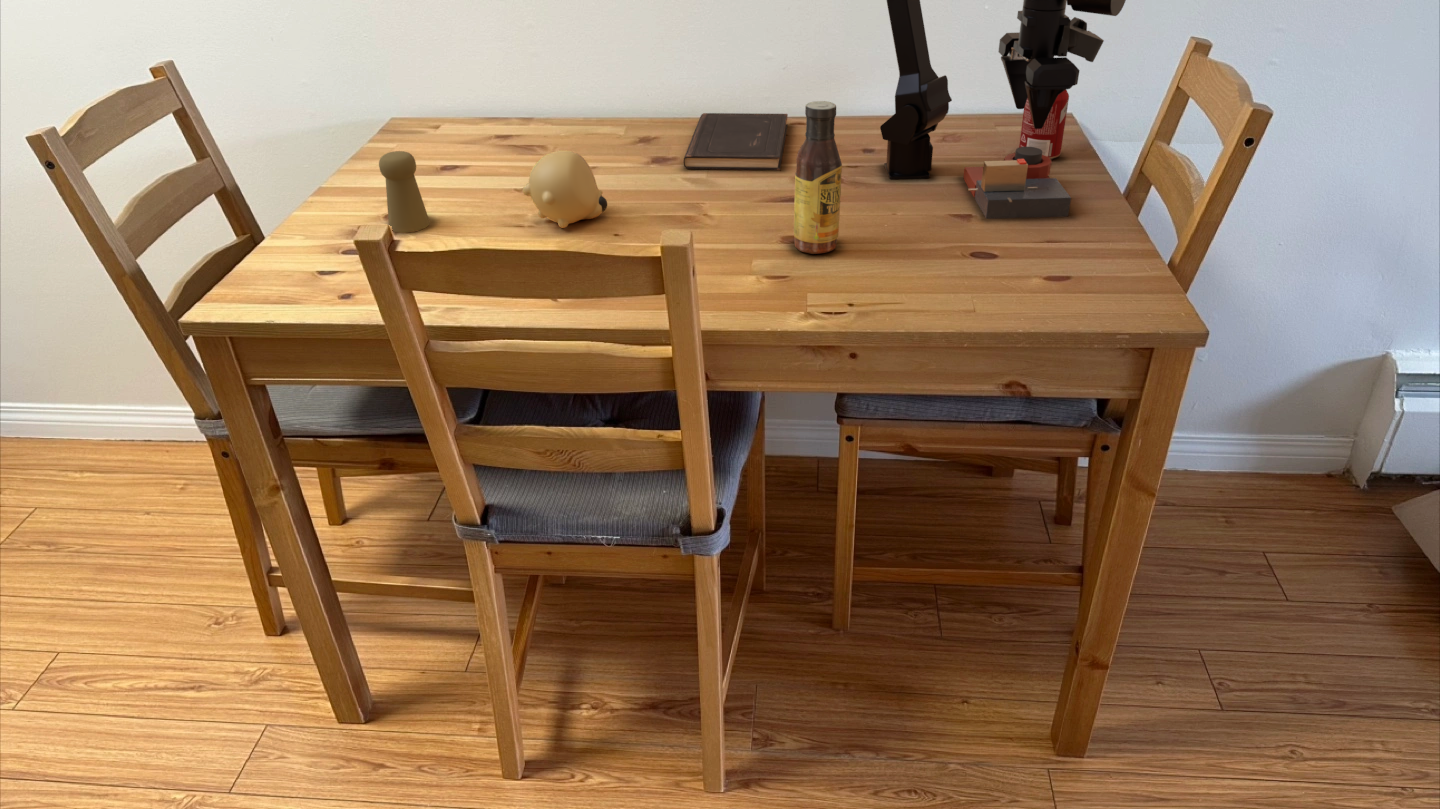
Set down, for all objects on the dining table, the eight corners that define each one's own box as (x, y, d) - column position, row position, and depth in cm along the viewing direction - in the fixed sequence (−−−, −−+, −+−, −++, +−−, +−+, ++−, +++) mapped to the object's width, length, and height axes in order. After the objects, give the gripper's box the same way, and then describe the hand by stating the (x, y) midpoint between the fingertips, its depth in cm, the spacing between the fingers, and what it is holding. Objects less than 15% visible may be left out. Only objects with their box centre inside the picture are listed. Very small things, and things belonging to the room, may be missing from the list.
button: (1017, 166, 162) (1019, 155, 161) (1011, 157, 166) (1012, 146, 165) (1043, 165, 162) (1045, 154, 161) (1037, 157, 166) (1038, 146, 165)
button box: (973, 197, 162) (976, 172, 160) (962, 178, 169) (965, 153, 167) (1055, 195, 162) (1059, 170, 160) (1040, 175, 169) (1044, 151, 167)
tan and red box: (983, 191, 156) (986, 164, 153) (980, 187, 157) (983, 159, 155) (1024, 190, 155) (1028, 162, 153) (1021, 185, 157) (1024, 158, 155)
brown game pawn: (393, 236, 155) (378, 163, 149) (384, 222, 160) (369, 151, 154) (434, 227, 158) (421, 155, 152) (424, 214, 162) (411, 144, 156)
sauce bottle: (825, 259, 144) (829, 115, 134) (785, 250, 147) (786, 108, 137) (846, 242, 149) (852, 102, 138) (807, 234, 152) (810, 95, 141)
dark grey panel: (973, 222, 154) (975, 202, 152) (959, 196, 162) (961, 176, 161) (1070, 219, 154) (1073, 199, 152) (1051, 194, 162) (1054, 174, 160)
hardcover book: (787, 126, 193) (787, 113, 192) (779, 170, 174) (780, 156, 173) (700, 125, 195) (700, 113, 194) (683, 169, 176) (683, 155, 174)
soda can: (1050, 165, 172) (1061, 92, 166) (1011, 158, 176) (1020, 85, 169) (1066, 154, 177) (1077, 81, 170) (1028, 146, 180) (1037, 75, 174)
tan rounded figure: (591, 250, 158) (630, 191, 158) (540, 209, 148) (582, 147, 149) (553, 230, 164) (591, 173, 164) (502, 189, 154) (542, 129, 155)
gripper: (1126, 20, 138) (1105, 137, 146) (1080, -10, 154) (1063, 97, 162) (1041, 23, 138) (1025, 140, 146) (1004, -8, 154) (991, 100, 162)
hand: (1028, 118), depth 154 cm, fingers open, 9 cm apart
